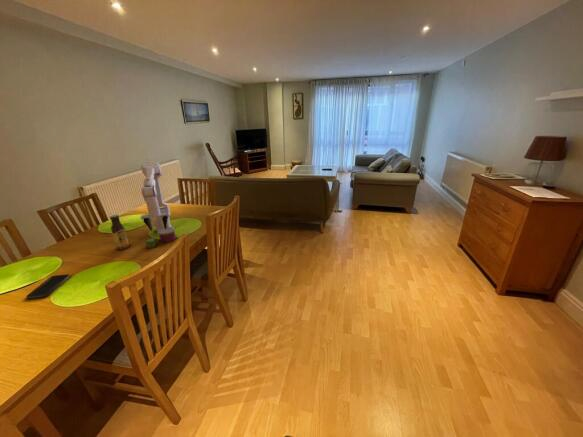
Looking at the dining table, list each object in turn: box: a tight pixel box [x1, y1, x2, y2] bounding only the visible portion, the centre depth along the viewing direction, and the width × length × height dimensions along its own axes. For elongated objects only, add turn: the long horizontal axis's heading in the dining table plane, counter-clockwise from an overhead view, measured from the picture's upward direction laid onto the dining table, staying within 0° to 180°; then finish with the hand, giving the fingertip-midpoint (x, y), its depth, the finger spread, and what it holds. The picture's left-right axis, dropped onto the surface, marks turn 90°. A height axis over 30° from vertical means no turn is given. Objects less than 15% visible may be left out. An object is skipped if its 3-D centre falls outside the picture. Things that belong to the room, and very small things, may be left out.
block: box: [145, 237, 158, 249], centre depth 140 cm, size 4×4×4 cm
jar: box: [157, 226, 177, 243], centre depth 148 cm, size 10×10×6 cm
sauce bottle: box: [109, 214, 130, 250], centre depth 136 cm, size 6×6×20 cm
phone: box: [25, 274, 70, 300], centre depth 107 cm, size 8×1×15 cm
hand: (158, 229), depth 140 cm, fingers open, 7 cm apart
